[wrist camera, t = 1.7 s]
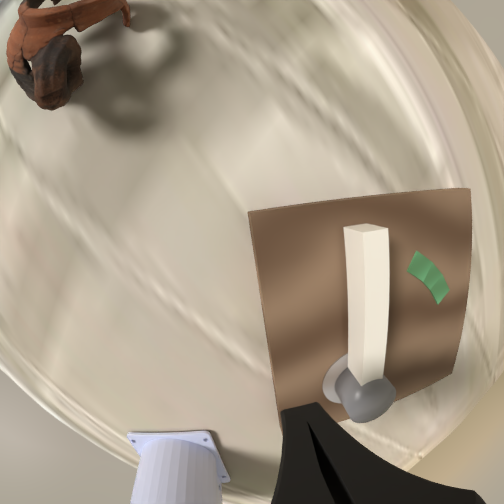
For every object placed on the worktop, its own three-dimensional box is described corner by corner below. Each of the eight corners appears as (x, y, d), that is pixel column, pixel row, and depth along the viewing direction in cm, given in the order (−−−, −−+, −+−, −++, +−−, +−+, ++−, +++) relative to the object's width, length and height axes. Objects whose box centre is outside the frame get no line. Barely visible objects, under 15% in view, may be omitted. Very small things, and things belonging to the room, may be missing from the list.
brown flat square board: (443, 366, 22) (452, 374, 20) (279, 424, 20) (283, 438, 19) (458, 188, 18) (471, 188, 16) (247, 211, 17) (250, 213, 15)
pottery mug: (21, 62, 12) (14, -10, 5) (115, 35, 17) (131, -37, 9) (15, 163, 12) (-25, 76, 5) (141, 120, 16) (164, 23, 9)
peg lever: (375, 389, 18) (392, 412, 15) (333, 403, 18) (347, 429, 15) (380, 221, 16) (408, 227, 13) (327, 229, 15) (350, 237, 12)
